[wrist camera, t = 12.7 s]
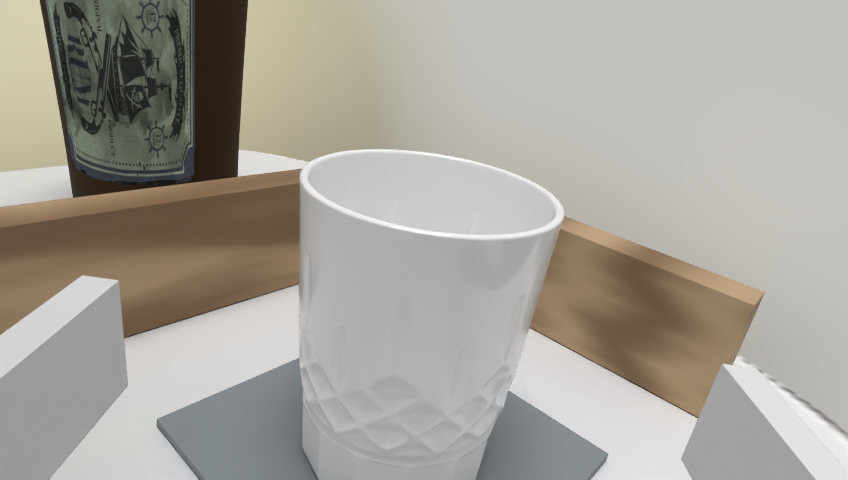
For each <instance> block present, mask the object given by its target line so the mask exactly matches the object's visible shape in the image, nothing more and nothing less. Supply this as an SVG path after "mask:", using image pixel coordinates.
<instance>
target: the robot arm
mask: <svg viewBox="0 0 848 480" xmlns="http://www.w3.org/2000/svg"><path fill="white" fill-rule="evenodd" d="M127 386H128V380H127V369H126V357H125V345H124V334H123V322H122V311H121V299H120V288H119V280H113V279H105V278H98V277H91V276H84V275H82V276H81V277H79V278H78V279H77V280H75V281H74V282H73V283H71V284H70V285H68V286H67V287H66V288H64V289H63V290H62V291H60V292H59V293H57V294H56V295H55V296H53V297H52V298H51V299H49V300H48V301H46V302H45V303H44V304H42V305H41V306H40V307H38V308H37V309H36V310H34V311H33V312H31V313H30V314H29V315H27V316H26V317H25V318H23V319H22V320H20V321H19V322H18V323H16V324H15V325H14V326H12V327H11V328H10V329H8V330H7V331H5V332H4V333H3V334H1V335H0V480H49V479H50V478H51V477H52V475H53V474H54V473H55V472H56V471H57V469H58V468H59V467H60V466H61V465H62V463H63V462H64V461H65V460H66V459H67V457H68V456H69V455H70V454H71V453H72V452H73V450H74V449H75V448H76V447H77V446H78V444H79V443H80V442H81V441H82V440H83V438H84V437H85V436H86V435H87V434H88V432H89V431H90V430H91V429H92V428H93V427H94V425H95V424H96V423H97V422H98V421H99V419H100V418H101V417H102V416H103V415H104V413H105V412H106V411H107V410H108V409H109V407H110V406H111V405H112V404H113V403H114V402H115V400H116V399H117V398H118V397H119V396H120V394H121V393H122V392H123V391H124V390H125V388H126V387H127ZM681 460H682V461H683V463H684V465H685V467H686V469H687V471H688V472H689V474H690V476H691V478H692V480H848V471H847V470H846V469H845V467H844V466H843V465H842V464H841V463H840V462H839V461H838V460H837V458H836V457H835V456H834V455H833V454H832V453H831V452H830V451H829V450H828V448H827V447H826V446H825V445H824V444H823V443H822V442H821V441H820V439H819V438H818V437H817V436H816V435H815V434H814V433H813V432H812V430H811V429H810V428H809V427H808V426H807V425H806V424H805V423H804V422H803V420H802V419H801V418H800V417H799V416H798V415H797V414H796V413H795V411H794V410H793V409H792V408H791V407H790V406H789V405H788V404H787V402H786V401H785V400H784V399H783V398H782V397H781V396H780V395H779V394H778V392H777V391H776V390H775V389H774V388H773V387H772V386H771V385H770V383H769V382H768V381H767V380H766V379H765V378H764V377H763V376H762V375H761V373H760V372H759V371H758V370H757V369H756V368H750V367H743V366H736V365H728V364H722V365H721V367H720V369H719V372H718V374H717V376H716V379H715V381H714V383H713V386H712V388H711V390H710V393H709V395H708V397H707V400H706V402H705V404H704V407H703V409H702V411H701V413H700V416H699V418H698V420H697V423H696V425H695V427H694V430H693V432H692V434H691V437H690V439H689V441H688V444H687V446H686V448H685V451H684V453H683V455H682V458H681Z"/></svg>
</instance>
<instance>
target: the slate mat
mask: <svg viewBox="0 0 848 480" xmlns="http://www.w3.org/2000/svg"><path fill="white" fill-rule="evenodd" d="M302 418H303V386H302V380H301V374H300V361H299V358H298V359H296V360H293V361H291V362H289V363H286V364H284V365H282V366H279V367H277V368H275V369H273V370H270V371H268V372H266V373H263V374H261V375H259V376H256V377H254V378H252V379H249V380H247V381H245V382H242V383H240V384H238V385H235V386H233V387H231V388H228V389H226V390H224V391H221V392H219V393H217V394H214V395H212V396H210V397H207V398H205V399H203V400H200V401H198V402H196V403H193V404H191V405H189V406H186V407H184V408H182V409H179V410H177V411H175V412H172V413H170V414H168V415H165V416H163V417H161V418H158V419H157V426H158V427H159V429H160V430H161V431H162V432H163V434H164V435H165V436H166V437H167V439H168V440H169V441H170V442H171V444H172V445H173V446H174V447H175V449H176V450H177V451H178V452H179V454H180V455H181V456H182V457H183V459H184V460H185V461H186V462H187V464H188V465H189V466H190V467H191V469H192V470H193V471H194V473H195V474H196V475H197V476H198V478H199V479H200V480H318V478H317V476H316V474H315V472H314V470H313V468H312V466H311V464H310V462H309V460H308V458H307V456H306V454H305V452H304V450H303V448H302ZM607 456H608V453H606V452H604V451H603V450H601V449H600V448H598V447H597V446H595V445H593V444H592V443H590V442H589V441H587V440H586V439H584V438H582V437H581V436H579V435H578V434H576V433H575V432H573V431H571V430H570V429H568V428H567V427H565V426H563V425H562V424H560V423H559V422H557V421H556V420H554V419H552V418H551V417H549V416H548V415H546V414H545V413H543V412H541V411H540V410H538V409H537V408H535V407H533V406H532V405H530V404H529V403H527V402H526V401H524V400H522V399H521V398H519V397H518V396H516V395H515V394H513V393H511V392H510V391H508V393H507V396H506V400H505V403H504V407H503V410H502V412H501V413H500V415H499V416H498V417H497V419H496V421H495V424H494V427H493V429H492V431H491V435H490V438H489V442H488V445H487V448H486V452H485V454H484V457H483V460H482V463H481V466H480V469H479V471H478V474H477V477H476V480H589V479H590V478H591V477H592V476H593V475H594V474H595V472H596V471H597V470H598V469H599V468H600V467H601V465H602V464H603V463H604V462H605V461H606V459H607Z"/></svg>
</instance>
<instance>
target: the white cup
mask: <svg viewBox="0 0 848 480" xmlns="http://www.w3.org/2000/svg"><path fill="white" fill-rule="evenodd" d="M563 219H564V209H563V207H562V204H561V203H560V201H559V200H558V199H557V198H556V197H555V196H554V195H553V194H551V193H550V192H549V191H547V190H546V189H544V188H543V187H541V186H540V185H538V184H536V183H534V182H532V181H530V180H528V179H526V178H524V177H521V176H519V175H516V174H514V173H511V172H508V171H505V170H503V169H500V168H496V167H493V166H490V165H486V164H483V163H479V162H475V161H471V160H467V159H462V158H457V157H452V156H446V155H440V154H434V153H426V152H418V151H407V150H390V149H389V150H388V149H368V150H351V151H343V152H337V153H332V154H329V155H325V156H322V157H319V158H316V159H314V160H312V161H311V162H309V163H307V164H306V165H305V166H304V167H303V168H302V170H301V172H300V176H299V361H300V374H301V380H302V386H303V418H302V448H303V450H304V452H305V454H306V456H307V458H308V460H309V462H310V464H311V466H312V468H313V470H314V472H315V474H316V476H317V478H318V480H476V477H477V474H478V471H479V469H480V466H481V463H482V460H483V457H484V454H485V452H486V448H487V445H488V442H489V438H490V435H491V431H492V429H493V427H494V424H495V421H496V419H497V417H498V416H499V415H500V413H501V412H502V410H503V407H504V403H505V400H506V396H507V393H508V390H509V388H510V385H511V383H512V381H513V379H514V377H515V372H516V369H517V366H518V363H519V359H520V356H521V353H522V350H523V347H524V343H525V340H526V337H527V334H528V330H529V327H530V324H531V321H532V318H533V315H534V312H535V309H536V305H537V302H538V299H539V296H540V292H541V289H542V286H543V283H544V279H545V276H546V273H547V270H548V266H549V263H550V260H551V257H552V254H553V251H554V247H555V244H556V241H557V238H558V235H559V232H560V228H561V225H562V222H563Z"/></svg>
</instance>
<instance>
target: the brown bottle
mask: <svg viewBox="0 0 848 480" xmlns="http://www.w3.org/2000/svg"><path fill="white" fill-rule="evenodd" d="M40 5H41V10H42V15H43V20H44V26H45V32H46V36H47V43H48V48H49V54H50V59H51V65H52V71H53V77H54V82H55V87H56V94H57V100H58V105H59V110H60V117H61V122H62V129H63V134H64V141H65V147H66V153H67V159H68V167H69V173H70V180H71V187H72V193H73V198H76V197H84V196H92V195H100V194H107V193H115V192H123V191H131V190H139V189H147V188H155V187H162V186H170V185H178V184H186V183H194V182H202V181H210V180H217V179H225V178H233V177H237V176H238V151H239V132H240V115H241V98H242V80H243V65H244V50H245V36H246V22H247V7H248V0H40Z"/></svg>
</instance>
